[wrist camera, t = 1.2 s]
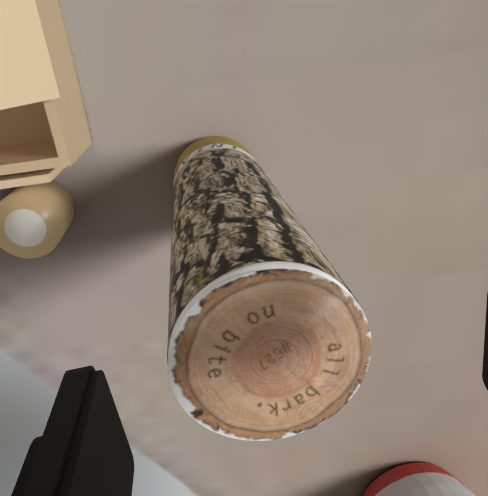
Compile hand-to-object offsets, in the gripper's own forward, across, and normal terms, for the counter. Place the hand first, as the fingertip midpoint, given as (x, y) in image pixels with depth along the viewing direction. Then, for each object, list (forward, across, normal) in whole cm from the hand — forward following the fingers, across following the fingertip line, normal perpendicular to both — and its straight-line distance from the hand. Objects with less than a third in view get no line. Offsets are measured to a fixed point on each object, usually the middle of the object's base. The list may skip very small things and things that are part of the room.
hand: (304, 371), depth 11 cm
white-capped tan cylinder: (+29, +14, +2) cm, 32 cm away
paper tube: (+29, 0, +2) cm, 29 cm away
